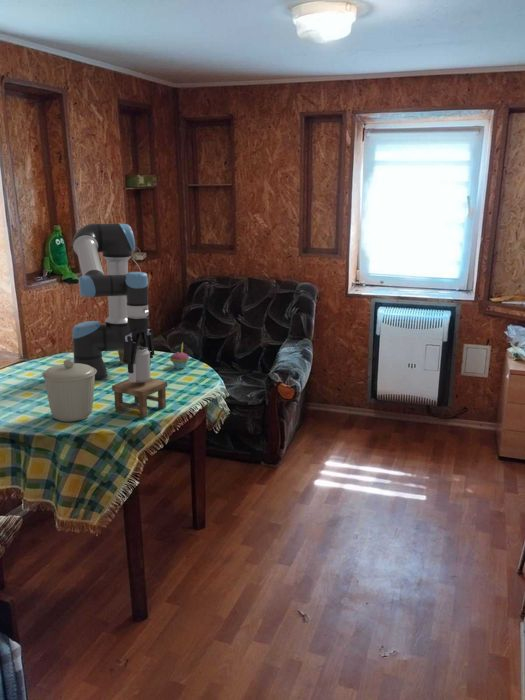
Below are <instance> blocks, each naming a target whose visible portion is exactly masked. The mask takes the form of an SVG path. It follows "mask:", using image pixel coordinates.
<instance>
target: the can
mask: <svg viewBox="0 0 525 700" xmlns="http://www.w3.org/2000/svg"><path fill="white" fill-rule="evenodd" d="M142 349H144V350H142ZM147 349H148V348H147V347H142V346H141V345H139V346H138V347H137V352H136V355H135V361H134V364H136V382H145V381H147V380H148V379H149V378H151V365H150V352H151V351H150V352H149V351H148V350H147Z"/></svg>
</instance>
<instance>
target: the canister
mask: <svg viewBox="0 0 525 700" xmlns="http://www.w3.org/2000/svg"><path fill="white" fill-rule="evenodd" d="M96 372H97V370H96V369H95V368H93V367H91V366H89V365H86V364H80V363H74V359H72V358H67V359H65V360H64V361H63V363H61V364H56V365H52V366H50V367H48V368H47V369H46V370H44V371H42V373H41V377H42V378H43V379H44V385H45V390H46V395H47V401H48V404H49V409H50V413H51V415H52V417H53V418H54V419H55V420H57V421H58V422H59V421H60V422H64V423H65V422H66V423H67V422H68V423H69V422H79V421H82V420H84V419H87V418H88V417H90V415H91V414H92V411H93V405H94V393H95V392H94V391H95V381H96V380H95V374H96Z"/></svg>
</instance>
